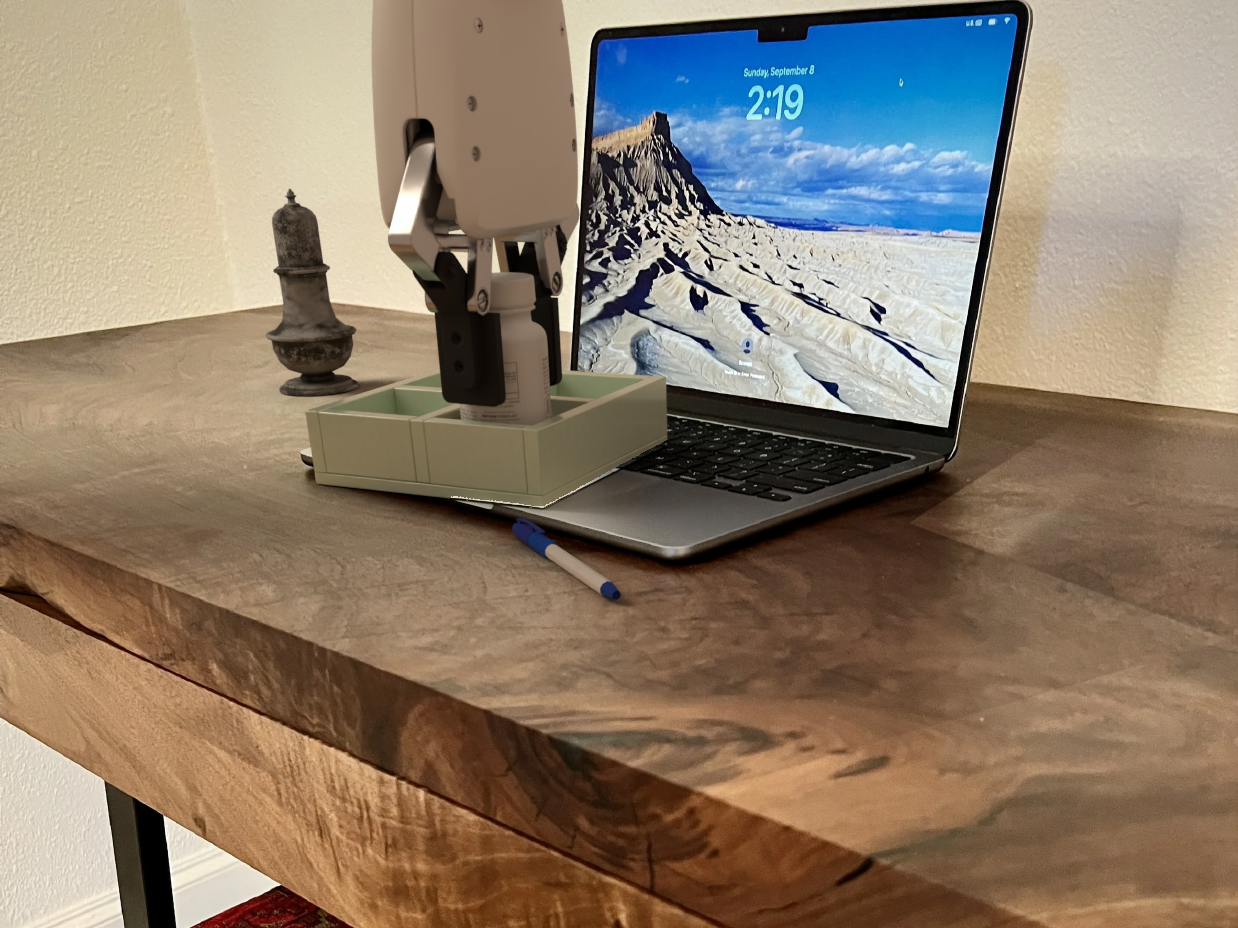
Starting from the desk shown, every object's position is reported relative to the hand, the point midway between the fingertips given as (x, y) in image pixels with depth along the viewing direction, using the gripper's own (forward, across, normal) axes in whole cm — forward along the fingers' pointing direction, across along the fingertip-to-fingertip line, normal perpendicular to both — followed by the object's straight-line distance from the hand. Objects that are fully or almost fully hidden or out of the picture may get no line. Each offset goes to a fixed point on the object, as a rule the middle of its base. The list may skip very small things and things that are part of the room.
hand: (503, 388), depth 64 cm
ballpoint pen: (+5, +11, +9) cm, 15 cm away
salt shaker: (+5, -17, -26) cm, 31 cm away
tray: (+5, -3, -3) cm, 6 cm away
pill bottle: (+3, 0, 0) cm, 3 cm away
